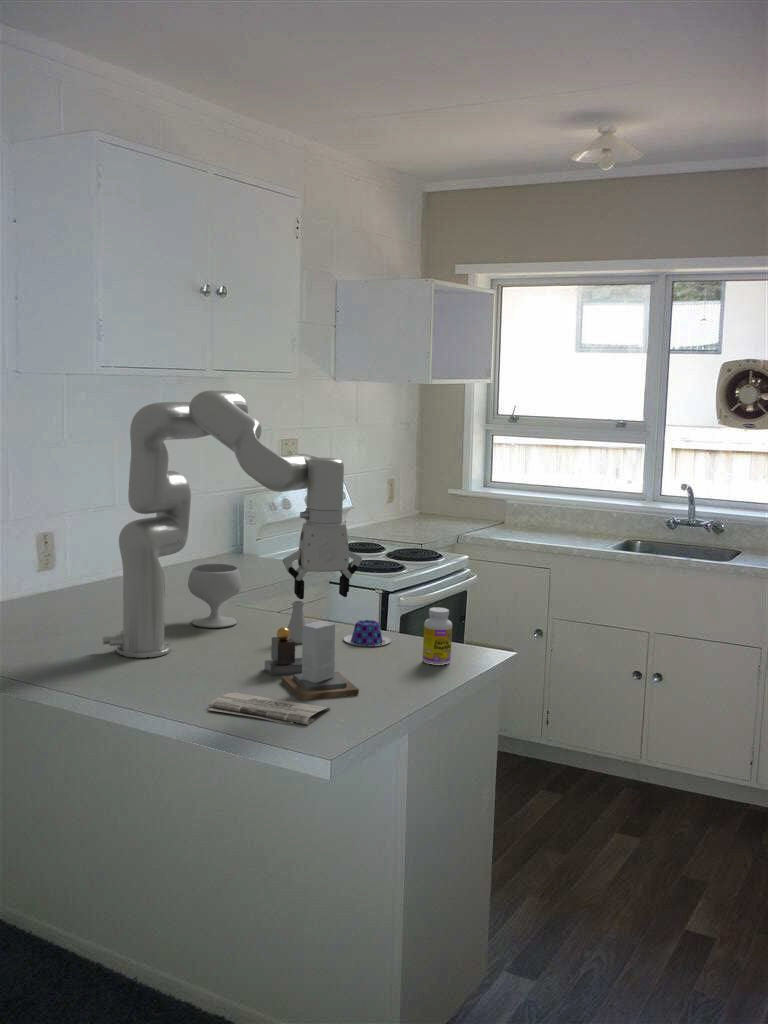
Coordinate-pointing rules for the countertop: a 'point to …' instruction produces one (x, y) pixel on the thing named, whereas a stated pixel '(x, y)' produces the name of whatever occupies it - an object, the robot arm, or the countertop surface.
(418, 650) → the countertop surface
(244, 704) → the newspaper
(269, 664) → the rail
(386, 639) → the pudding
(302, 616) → the flask
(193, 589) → the chalice
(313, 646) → the skincare box
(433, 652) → the supplement bottle
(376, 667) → the countertop surface
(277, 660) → the handle
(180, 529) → the robot arm
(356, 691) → the tray
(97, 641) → the countertop surface
